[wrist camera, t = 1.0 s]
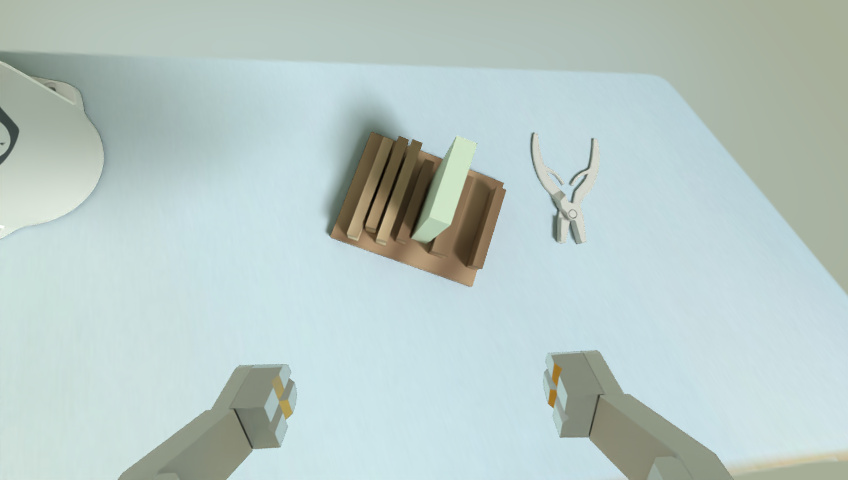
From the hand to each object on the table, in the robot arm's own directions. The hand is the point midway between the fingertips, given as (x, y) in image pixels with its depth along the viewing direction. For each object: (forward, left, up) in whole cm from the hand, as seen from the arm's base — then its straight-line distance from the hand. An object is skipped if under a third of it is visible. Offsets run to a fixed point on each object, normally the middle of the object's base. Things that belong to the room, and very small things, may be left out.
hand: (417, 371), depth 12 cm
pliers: (+19, +24, -33) cm, 45 cm away
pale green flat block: (+2, +14, -31) cm, 34 cm away
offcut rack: (+1, +14, -33) cm, 35 cm away
